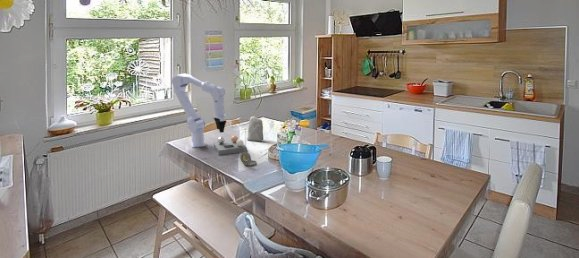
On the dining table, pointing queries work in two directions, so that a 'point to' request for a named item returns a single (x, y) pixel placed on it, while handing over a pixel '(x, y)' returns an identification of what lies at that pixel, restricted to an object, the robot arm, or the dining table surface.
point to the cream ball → (239, 142)
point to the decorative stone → (255, 129)
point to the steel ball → (221, 140)
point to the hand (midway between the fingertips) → (220, 130)
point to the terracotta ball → (234, 138)
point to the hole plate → (228, 147)
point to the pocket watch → (247, 157)
